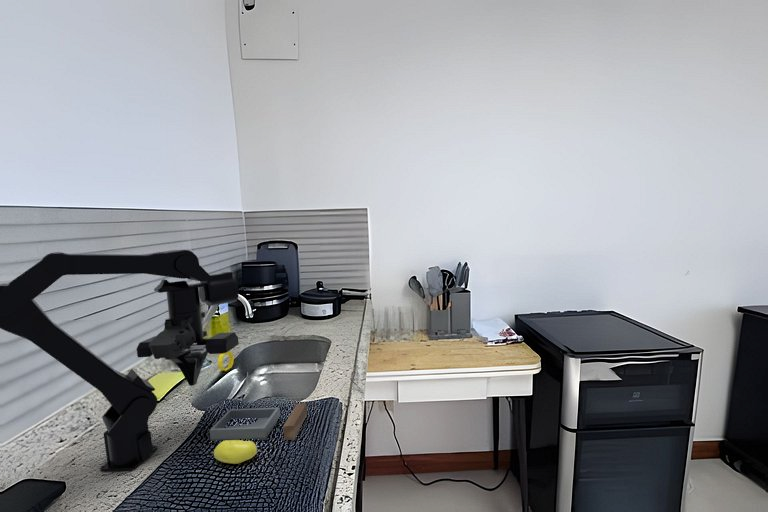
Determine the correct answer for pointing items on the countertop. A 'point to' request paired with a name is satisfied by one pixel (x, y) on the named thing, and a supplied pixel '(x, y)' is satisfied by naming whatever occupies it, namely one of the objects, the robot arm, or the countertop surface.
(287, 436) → the rail
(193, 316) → the robot arm
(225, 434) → the tray
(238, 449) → the lemon
